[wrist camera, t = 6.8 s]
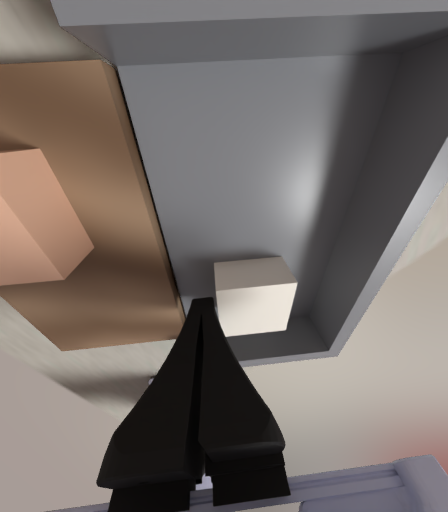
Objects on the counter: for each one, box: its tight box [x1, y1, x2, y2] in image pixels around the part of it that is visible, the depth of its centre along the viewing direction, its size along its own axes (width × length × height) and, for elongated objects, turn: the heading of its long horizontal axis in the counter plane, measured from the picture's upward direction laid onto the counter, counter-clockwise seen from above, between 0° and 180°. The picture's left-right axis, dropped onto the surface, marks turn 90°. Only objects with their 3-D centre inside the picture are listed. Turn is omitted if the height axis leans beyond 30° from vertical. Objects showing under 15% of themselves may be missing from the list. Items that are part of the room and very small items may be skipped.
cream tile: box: [214, 256, 298, 337], centre depth 12 cm, size 4×4×2 cm
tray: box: [50, 0, 448, 367], centre depth 10 cm, size 18×12×4 cm, turn 3°
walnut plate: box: [0, 60, 186, 351], centre depth 11 cm, size 16×10×1 cm, turn 3°
